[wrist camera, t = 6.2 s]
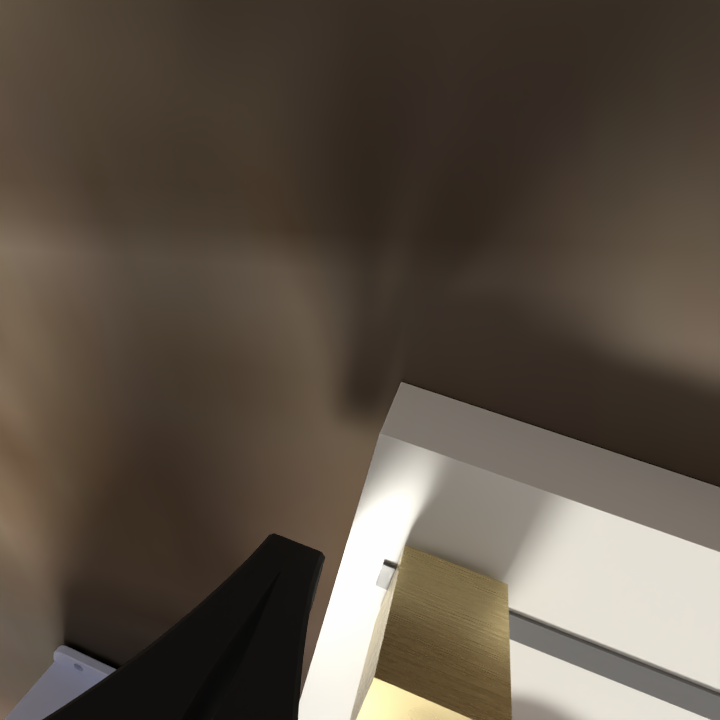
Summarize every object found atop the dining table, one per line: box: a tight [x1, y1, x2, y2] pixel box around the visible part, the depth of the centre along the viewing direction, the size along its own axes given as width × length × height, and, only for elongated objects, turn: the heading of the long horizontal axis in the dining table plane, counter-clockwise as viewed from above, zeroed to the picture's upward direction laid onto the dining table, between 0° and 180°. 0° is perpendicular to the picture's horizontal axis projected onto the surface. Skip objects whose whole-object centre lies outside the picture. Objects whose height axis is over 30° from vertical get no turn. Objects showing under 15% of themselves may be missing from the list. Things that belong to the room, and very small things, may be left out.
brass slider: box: [350, 545, 512, 720], centre depth 10 cm, size 2×3×3 cm
